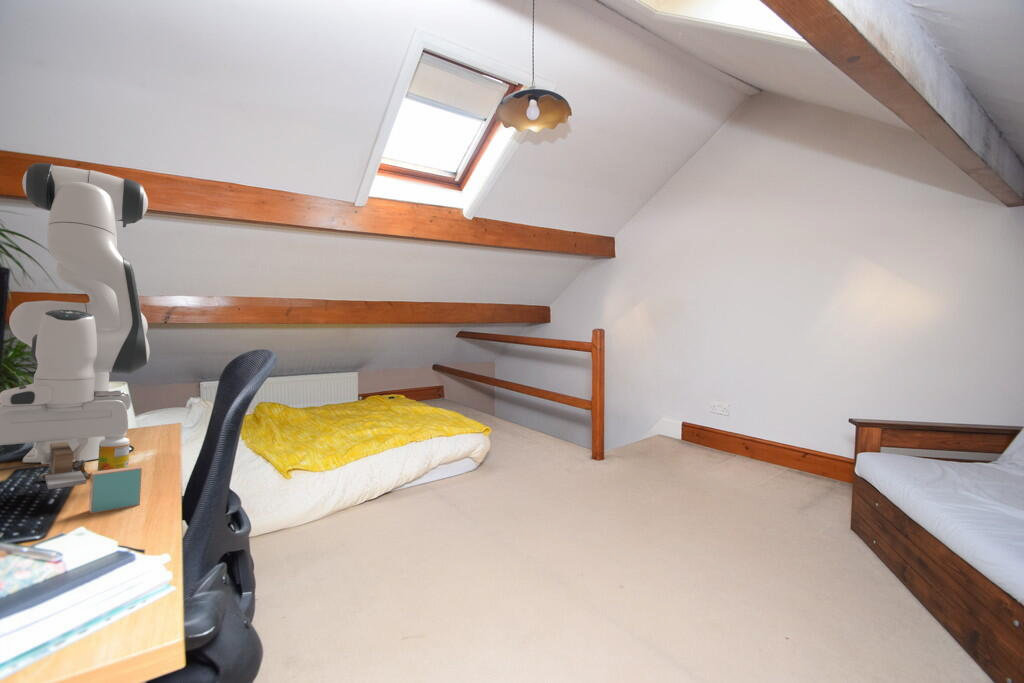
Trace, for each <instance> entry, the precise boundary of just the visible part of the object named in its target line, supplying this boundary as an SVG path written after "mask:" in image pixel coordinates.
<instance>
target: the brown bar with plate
mask: <svg viewBox="0 0 1024 683" xmlns="http://www.w3.org/2000/svg"><path fill="white" fill-rule="evenodd" d="M50 453H52V454H53V458H52V460H53V461H52V463H50V464H48V467H49V469H50V470H49V471H50V473H52V474H49V475H45V481H46V482H45V484H46V486H47V489H48V490H52V489H53V490H54V489H59V488H65V487H67V488H68V487H74V486H81V485H86V484H87V479H86V478H85V477H84V475H83V473H82V472H81V471H78V470H75V471H73V469H72V467H73V463H74V462H73V451H72V450H71V448H70V446H69V445H68V443H67V442H64V443H52V444H50Z"/></svg>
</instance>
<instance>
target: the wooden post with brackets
mask: <svg viewBox="0 0 1024 683" xmlns="http://www.w3.org/2000/svg"><path fill="white" fill-rule="evenodd" d="M86 462H87V461H86V460H80V461H79V460H78V461H75V462H73V467H72V470H75V471H81V472H82V473H83V475H84V477H85V478H86V480H87V479H89V478H90V476H89V473H88V472H87V471H86V470H85V467H84V464H86ZM49 474H52V472H44V473H41V474H39V475H38V476H39V478H40V480H41V481H42V480H44V479H45V475H49Z"/></svg>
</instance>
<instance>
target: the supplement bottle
mask: <svg viewBox="0 0 1024 683" xmlns="http://www.w3.org/2000/svg"><path fill="white" fill-rule="evenodd" d="M126 436H127V431H126V432H125V433H124V434H123V435H113V436H104V437H105V439H103V440H101V441H100V443H99V457H98V459H97V471H103V470H111V469H119V468H126V467H129V459H130V458H129V457H130V445H131V444H130V442H131V441H130V439H129V438H127V437H126Z"/></svg>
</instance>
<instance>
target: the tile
mask: <svg viewBox="0 0 1024 683" xmlns="http://www.w3.org/2000/svg"><path fill="white" fill-rule="evenodd" d="M142 472H143V468H142V467H141V466H140V465H136V466H135V465H134V466H128V467H126V468H119V469H111V470H103V471H98V470H96V471H90V481H89V482H90V484H89V502H88V511H89V513H90V514H91V515H92V514H98V513H102V512H108V511H113V510H119V509H124V508H130V507H136V506H140V505H141V492H142V491H141V489H142V488H141V487H142Z"/></svg>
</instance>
